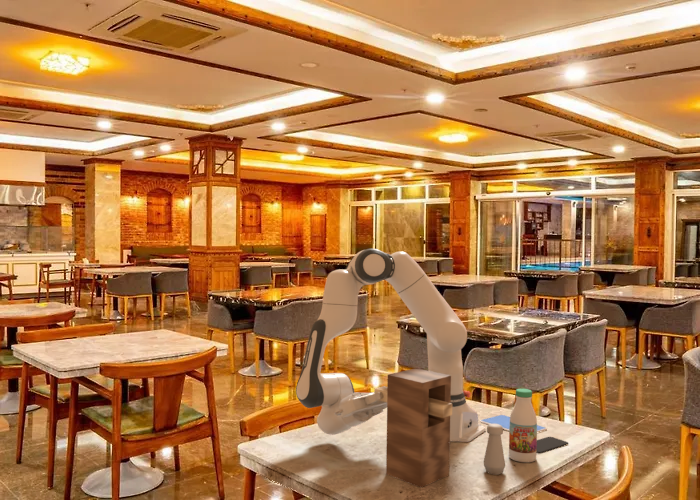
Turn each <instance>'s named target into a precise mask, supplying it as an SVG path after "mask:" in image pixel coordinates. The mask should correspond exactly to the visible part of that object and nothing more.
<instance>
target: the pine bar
mask: <svg viewBox="0 0 700 500" xmlns="http://www.w3.org/2000/svg"><path fill="white" fill-rule="evenodd" d="M373 392H374V394H376V393H379V392H382V393H383V396H384V397H383V398H382V399H380V401H383V402H387V386H385V385H383V386H380V387H376V388H374V391H373ZM428 414H430V415H433V416H437V417H441V418H445V417H448V416H451V415H452V403H448V402H444V401H441V400H437V399H433V398H429V404H428Z"/></svg>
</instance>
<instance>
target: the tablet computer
mask: <svg viewBox="0 0 700 500" xmlns="http://www.w3.org/2000/svg"><path fill="white" fill-rule="evenodd" d="M480 422H481V424H483V425H487V426H488V425H489V424H499V425H501V426H502V427H503V429H504V430H503V431H506V430H507V431H506V432H509V427H510V416H507V415H505V414H500V415H495V416H492V417H487V418H483V419H480V420H479V423H480ZM544 430H546V431H547V430H548V429H547V427H546V426H542V425H538V424H537V432H540V431H543V432H545V431H544ZM540 433H541V432H540Z"/></svg>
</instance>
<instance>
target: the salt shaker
mask: <svg viewBox="0 0 700 500" xmlns="http://www.w3.org/2000/svg"><path fill="white" fill-rule="evenodd" d="M486 432H487V434H488V439H487V443H486V449H485V454H484V457H483V466H484V469H485V471H486V473H488V474H489V475H498V476H499V475H501V474H502V473H503V472H504V469H505V467H506V460H505V454H504V448H503V447H504V446H503V443H502V442H503V441H502V436H501V435H503V434H504V433H503V432H504V430H503V427H502V426H501V425H499V424H489V425H487V426H486Z"/></svg>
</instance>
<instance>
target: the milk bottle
mask: <svg viewBox="0 0 700 500" xmlns="http://www.w3.org/2000/svg"><path fill="white" fill-rule="evenodd" d="M515 398H516V399H515V404H514V406H513V408H512V410H511V412H510V416H509V417H510V427H509V431H508V432H509V436H508V456H509V458H510V459H511V460H513V461H516V462H518V463H533V462H535V461H536V460H537V453H536V452H537V440H538V433H537V425H538V421H537V414H536V410H534V407H533V403H532V399H533V391H532V390H531V389H528V388H517V389H515Z"/></svg>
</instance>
